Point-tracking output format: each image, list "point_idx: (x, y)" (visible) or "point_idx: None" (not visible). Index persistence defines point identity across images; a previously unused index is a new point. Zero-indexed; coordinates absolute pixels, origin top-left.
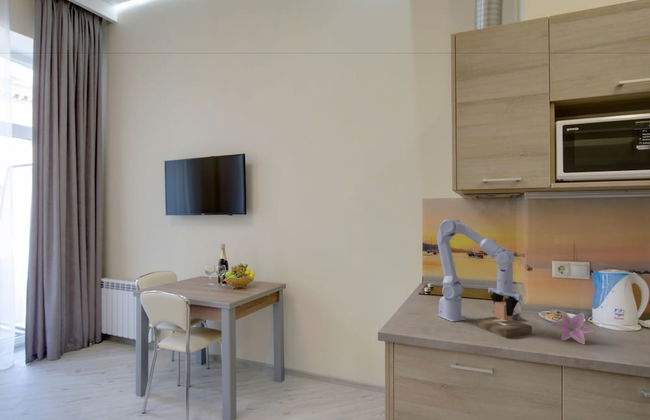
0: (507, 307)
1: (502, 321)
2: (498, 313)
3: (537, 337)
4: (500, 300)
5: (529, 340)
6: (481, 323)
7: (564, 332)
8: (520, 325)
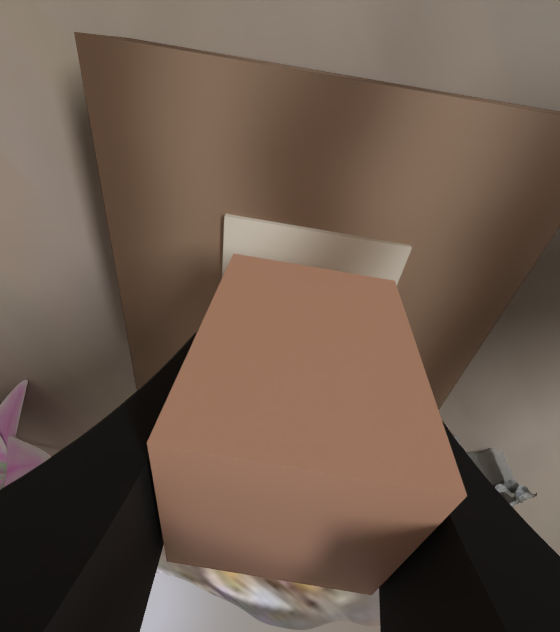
0: (143, 425)
1: None
2: (329, 308)
3: (89, 317)
4: (399, 597)
5: (36, 205)
6: (518, 107)
7: (14, 432)
8: (173, 344)
